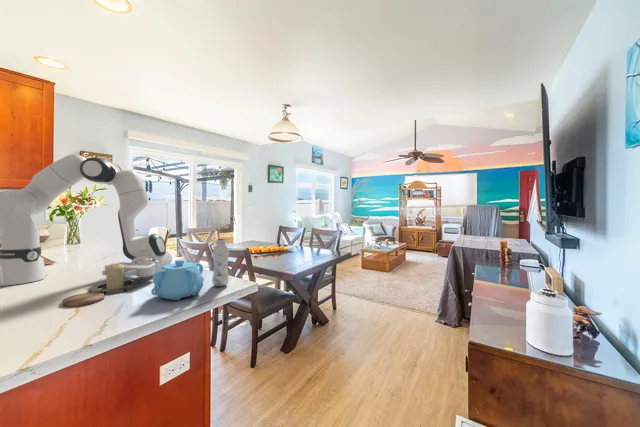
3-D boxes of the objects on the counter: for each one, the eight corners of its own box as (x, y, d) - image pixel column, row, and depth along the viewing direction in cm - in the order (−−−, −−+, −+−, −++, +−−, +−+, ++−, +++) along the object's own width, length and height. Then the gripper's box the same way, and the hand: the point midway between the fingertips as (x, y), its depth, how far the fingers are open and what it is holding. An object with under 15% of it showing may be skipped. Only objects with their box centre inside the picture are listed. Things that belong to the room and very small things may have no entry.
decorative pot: (166, 289, 108) (166, 256, 108) (207, 288, 110) (207, 255, 110) (145, 304, 92) (145, 265, 92) (194, 302, 94) (194, 264, 94)
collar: (80, 292, 101) (80, 288, 101) (115, 281, 116) (115, 277, 116) (114, 295, 99) (114, 291, 99) (146, 284, 114) (146, 279, 114)
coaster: (53, 305, 89) (53, 302, 89) (86, 294, 100) (86, 291, 100) (81, 308, 87) (81, 304, 87) (112, 296, 98) (112, 293, 98)
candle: (127, 286, 110) (127, 262, 110) (115, 290, 105) (115, 265, 104) (114, 285, 111) (114, 262, 110) (102, 290, 105) (102, 265, 105)
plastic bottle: (211, 284, 115) (212, 238, 115) (228, 282, 118) (228, 238, 117) (212, 289, 109) (212, 240, 109) (229, 287, 112) (230, 240, 112)
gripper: (121, 258, 122) (91, 264, 108) (161, 260, 119) (136, 267, 105) (121, 271, 122) (91, 279, 108) (161, 274, 119) (136, 283, 105)
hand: (113, 273), depth 107 cm, fingers open, 8 cm apart
